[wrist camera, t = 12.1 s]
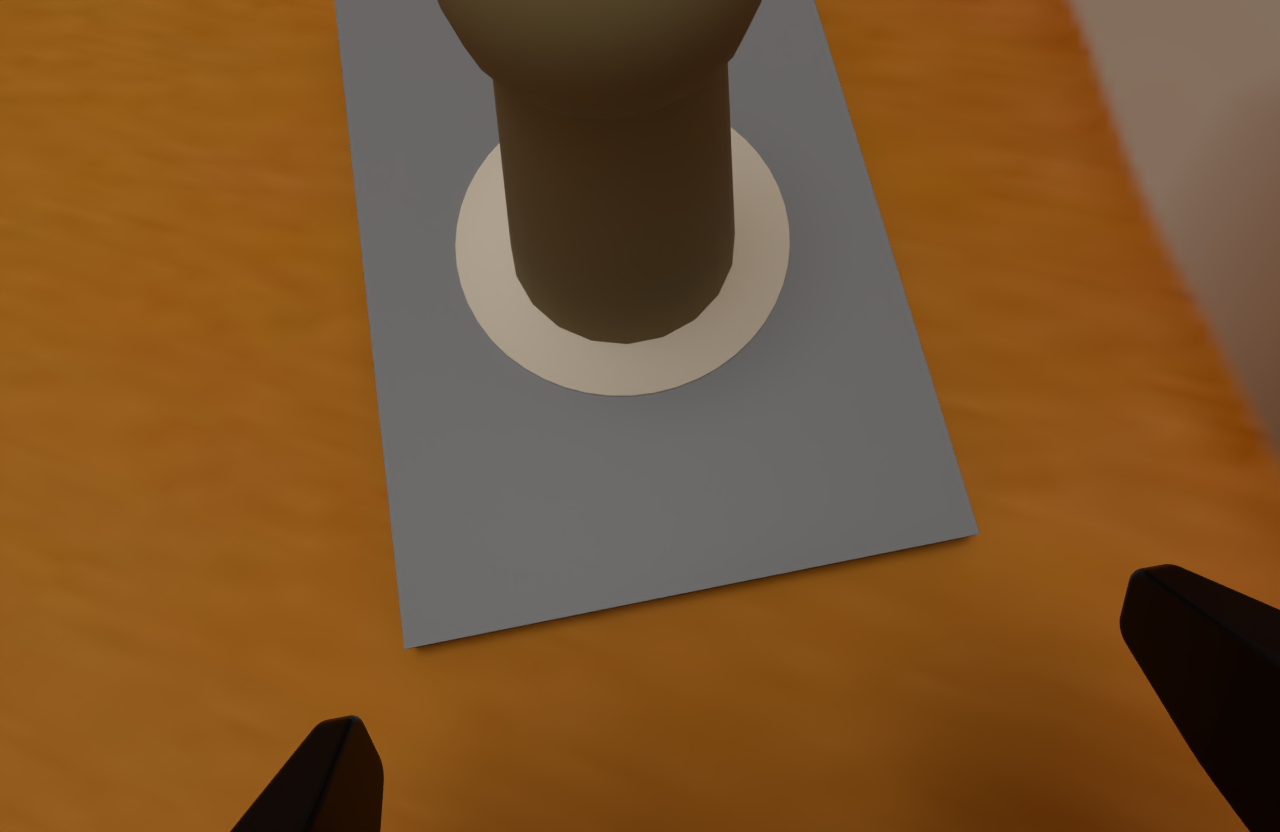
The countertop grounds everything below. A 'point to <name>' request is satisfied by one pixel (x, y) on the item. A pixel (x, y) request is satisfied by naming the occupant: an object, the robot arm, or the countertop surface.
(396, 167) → the board
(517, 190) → the olive rounded peg
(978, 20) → the countertop surface
